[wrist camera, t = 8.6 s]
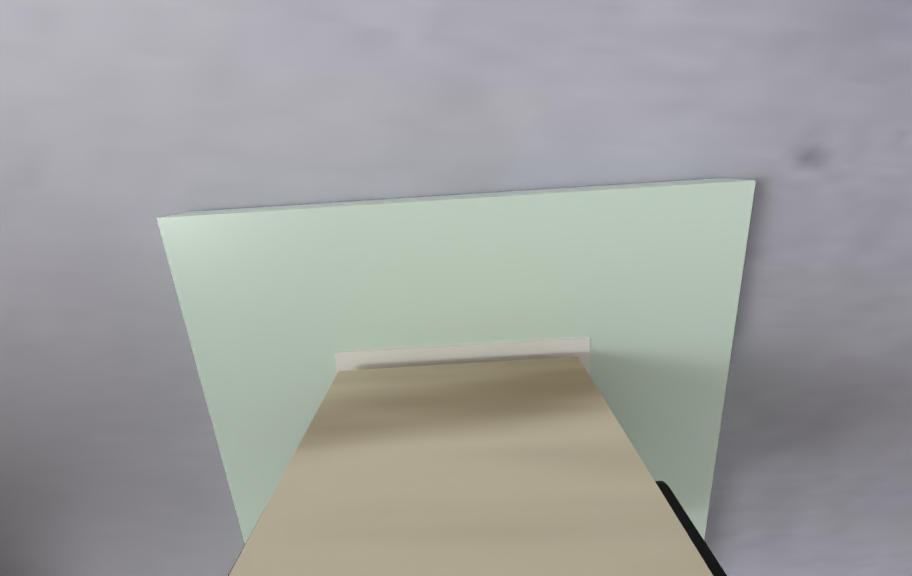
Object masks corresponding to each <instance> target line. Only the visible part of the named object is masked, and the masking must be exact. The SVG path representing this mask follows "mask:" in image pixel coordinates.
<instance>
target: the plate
mask: <svg viewBox="0 0 912 576" xmlns="http://www.w3.org/2000/svg"><path fill="white" fill-rule="evenodd" d="M755 183H756V180H745V179H733V178H713V179H697V180H682V181H666V182H650V183H634V184H618V185H602V186H587V187H571V188H555V189H539V190H523V191H507V192H492V193H476V194H460V195H444V196H428V197H412V198H396V199H381V200H365V201H349V202H333V203H317V204H301V205H286V206H270V207H254V208H238V209H222V210H206V211H191V212H183V213H178V214H174V215H169V216H164V217H159V218H156V219H157V223H158V226H159V230H160V234H161V237H162V241H163V245H164V248H165V252H166V256H167V260H168V263H169V267H170V271H171V274H172V278H173V282H174V285H175V289H176V293H177V297H178V300H179V304H180V308H181V311H182V315H183V319H184V322H185V326H186V330H187V334H188V337H189V341H190V345H191V348H192V352H193V356H194V359H195V363H196V367H197V370H198V374H199V378H200V382H201V385H202V389H203V393H204V396H205V400H206V404H207V407H208V411H209V415H210V419H211V422H212V426H213V430H214V433H215V437H216V441H217V444H218V448H219V452H220V456H221V459H222V463H223V467H224V470H225V474H226V478H227V481H228V485H229V489H230V493H231V496H232V500H233V504H234V507H235V511H236V515H237V518H238V522H239V526H240V530H241V533H242V537H243V541H244V544H246V542H247V540H248V538H249V536H250V535H251V533H252V531H253V529H254V527H255V525H256V523H257V522H258V520H259V518H260V516H261V514H262V512H263V511H264V509H265V507H266V505H267V503H268V502H269V500H270V498H271V496H272V494H273V492H274V490H275V489H276V487H277V485H278V483H279V481H280V479H281V477H282V475H283V474H284V472H285V470H286V468H287V466H288V464H289V462H290V461H291V459H292V457H293V455H294V453H295V451H296V449H297V447H298V446H299V444H300V442H301V440H302V438H303V436H304V434H305V433H306V431H307V429H308V427H309V425H310V423H311V421H312V419H313V418H314V416H315V414H316V412H317V410H318V408H319V406H320V405H321V403H322V401H323V399H324V397H325V395H326V393H327V391H328V390H329V388H330V386H331V384H332V382H333V380H334V378H335V377H336V375H337V373H338V371H346V370H362V369H379V368H395V367H412V366H428V365H445V364H462V363H478V362H495V361H511V360H528V359H545V358H561V357H578V358H579V359H580V361H581V363H582V364H583V366H584V367H585V369H586V371H587V372H588V374H589V376H590V377H591V379H592V380H593V382H594V384H595V385H596V387H597V388H598V390H599V392H600V393H601V395H602V397H603V398H604V400H605V401H606V403H607V405H608V406H609V408H610V409H611V411H612V413H613V414H614V416H615V418H616V419H617V421H618V422H619V424H620V426H621V427H622V429H623V431H624V432H625V434H626V435H627V437H628V439H629V440H630V442H631V443H632V445H633V447H634V448H635V450H636V452H637V453H638V455H639V456H640V458H641V460H642V461H643V463H644V464H645V466H646V468H647V469H648V471H649V473H650V474H651V476H652V477H653V479H654V481H663V482H665V483H666V484H667V485H668V486H669V487H670V489H671V490H672V492H673V493H674V495H675V496H676V498H677V500H678V501H679V503H680V504H681V506H682V507H683V509H684V510H685V512H686V513H687V515H688V517H689V518H690V520H691V521H692V523H693V524H694V526H695V527H696V529H697V530H698V532H699V534H700V535H701V537H702V538H703V540H704V539H705V532H706V525H707V518H708V511H709V504H710V497H711V490H712V483H713V476H714V469H715V462H716V455H717V448H718V441H719V434H720V427H721V420H722V413H723V406H724V399H725V392H726V385H727V378H728V371H729V364H730V357H731V350H732V343H733V336H734V329H735V322H736V315H737V308H738V301H739V294H740V287H741V281H742V274H743V267H744V260H745V253H746V246H747V239H748V232H749V225H750V218H751V211H752V204H753V197H754V190H755Z"/></svg>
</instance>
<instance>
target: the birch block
mask: <svg viewBox="0 0 912 576" xmlns="http://www.w3.org/2000/svg"><path fill="white" fill-rule="evenodd" d="M229 576H713V575H712V573H711V571H710V570H709V568H708V566H707V565H706V563H705V562H704V560H703V558H702V557H701V555H700V553H699V552H698V550H697V549H696V547H695V545H694V544H693V542H692V541H691V539H690V537H689V536H688V534H687V532H686V531H685V529H684V528H683V526H682V524H681V523H680V521H679V520H678V518H677V516H676V515H675V513H674V511H673V510H672V508H671V507H670V505H669V503H668V502H667V500H666V498H665V497H664V495H663V494H662V492H661V490H660V489H659V487H658V486H657V484H656V482H655V481H654V479H653V477H652V476H651V474H650V473H649V471H648V469H647V468H646V466H645V464H644V463H643V461H642V460H641V458H640V456H639V455H638V453H637V452H636V450H635V448H634V447H633V445H632V443H631V442H630V440H629V439H628V437H627V435H626V434H625V432H624V431H623V429H622V427H621V426H620V424H619V422H618V421H617V419H616V418H615V416H614V414H613V413H612V411H611V409H610V408H609V406H608V405H607V403H606V401H605V400H604V398H603V397H602V395H601V393H600V392H599V390H598V388H597V387H596V385H595V384H594V382H593V380H592V379H591V377H590V376H589V374H588V372H587V371H586V369H585V367H584V366H583V364H582V363H581V361H580V359H579V358H578V357H561V358H545V359H528V360H511V361H495V362H478V363H462V364H445V365H428V366H412V367H395V368H379V369H362V370H346V371H338V373H337V375H336V377H335V378H334V380H333V382H332V384H331V386H330V388H329V390H328V391H327V393H326V395H325V397H324V399H323V401H322V403H321V405H320V406H319V408H318V410H317V412H316V414H315V416H314V418H313V419H312V421H311V423H310V425H309V427H308V429H307V431H306V433H305V434H304V436H303V438H302V440H301V442H300V444H299V446H298V447H297V449H296V451H295V453H294V455H293V457H292V459H291V461H290V462H289V464H288V466H287V468H286V470H285V472H284V474H283V475H282V477H281V479H280V481H279V483H278V485H277V487H276V489H275V490H274V492H273V494H272V496H271V498H270V500H269V502H268V503H267V505H266V507H265V509H264V511H263V513H262V515H261V517H260V518H259V520H258V522H257V524H256V526H255V528H254V530H253V531H252V533H251V535H250V537H249V539H248V541H247V543H246V545H245V546H244V548H243V550H242V552H241V554H240V556H239V558H238V559H237V561H236V563H235V565H234V567H233V569H232V571H231V572H230V574H229Z"/></svg>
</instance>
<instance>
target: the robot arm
mask: <svg viewBox="0 0 912 576" xmlns="http://www.w3.org/2000/svg"><path fill="white" fill-rule="evenodd" d="M655 482H656V484H657V486H658V487H659V489H660V490H661V492H662V494H663V495H664V497H665V498H666V500H667V502H668V503H669V505H670V507H671V508H672V510H673V511H674V513H675V515H676V516H677V518H678V520H679V521H680V523H681V524H682V526H683V528H684V529H685V531H686V532H687V534H688V536H689V537H690V539H691V541H692V542H693V544H694V545H695V547H696V549H697V550H698V552H699V553H700V555H701V557H702V558H703V560H704V562H705V563H706V565H707V566H708V568H709V570H710V571H711V573H712V575H713V576H727V575H726V574H725V572H724V571H723V569H722V568H721V566H720V564H719V563H718V561H717V560H716V558H715V557H714V555H713V554H712V552H711V551H710V549H709V547H708V546H707V544H706V543H705V541H704V540H703V538H702V537H701V535H700V534H699V532H698V530H697V529H696V527H695V526H694V524H693V523H692V521H691V520H690V518H689V517H688V515H687V513H686V512H685V510H684V509H683V507H682V506H681V504H680V503H679V501H678V500H677V498H676V496H675V495H674V493H673V492H672V490H671V489H670V487H669V486H668V485H667V484H666V483H665V482H663V481H655ZM262 513H263V512H262ZM261 515H262V514H261ZM260 517H261V516H260ZM256 524H257V523H256ZM255 526H256V525H255ZM254 528H255V527H254ZM253 530H254V529H253ZM249 537H250V536H249ZM248 539H249V538H248ZM247 541H248V540H247ZM246 543H247V542H246ZM245 545H246V544H245ZM243 548H244V547H243ZM242 550H243V549H242ZM241 552H242V551H241ZM240 554H241V553H240ZM239 556H240V555H239ZM238 558H239V557H238ZM236 561H237V560H236ZM235 563H236V562H235ZM234 565H235V564H234ZM233 567H234V566H233ZM232 569H233V568H232ZM231 571H232V570H231ZM231 571H230V572H231ZM229 574H230V573H229ZM228 576H229V575H228Z"/></svg>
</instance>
